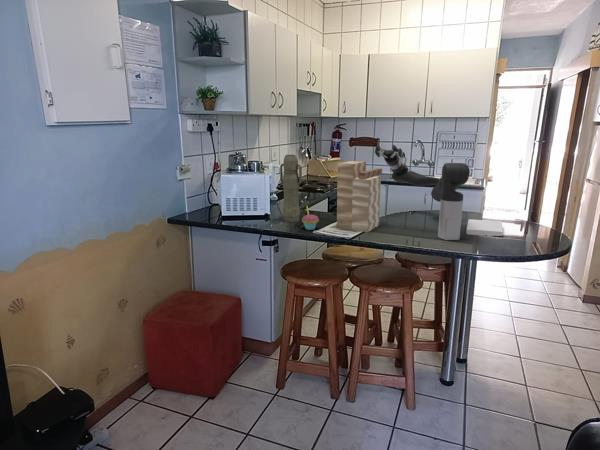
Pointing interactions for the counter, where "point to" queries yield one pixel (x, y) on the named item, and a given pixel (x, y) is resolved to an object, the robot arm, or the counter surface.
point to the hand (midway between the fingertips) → (385, 146)
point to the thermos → (291, 187)
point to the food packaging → (484, 228)
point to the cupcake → (310, 221)
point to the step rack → (357, 198)
